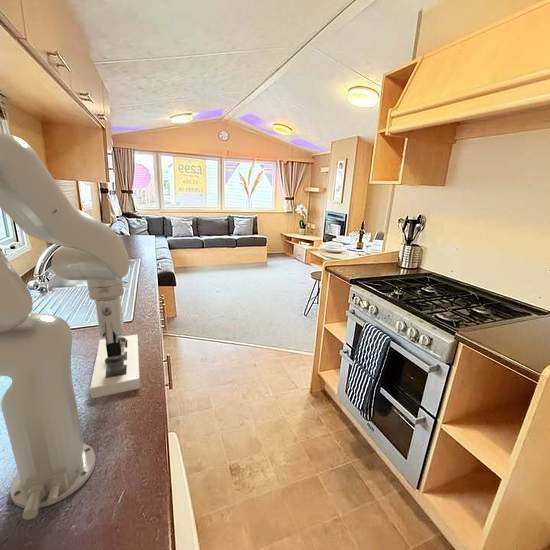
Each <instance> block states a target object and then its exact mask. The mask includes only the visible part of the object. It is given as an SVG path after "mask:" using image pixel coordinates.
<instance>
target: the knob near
mask: <svg viewBox="0 0 550 550" xmlns="http://www.w3.org/2000/svg"><path fill="white" fill-rule="evenodd" d="M124 360H125V358H124V355H119V356H114V357H107V358H106V359H105V364H106V365H107V371H108V375H109V376H114V377H116V376H118V375H119V376H121V374H122V373H124V371H125V369H124Z"/></svg>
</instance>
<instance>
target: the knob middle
mask: <svg viewBox="0 0 550 550" xmlns="http://www.w3.org/2000/svg"><path fill="white" fill-rule="evenodd" d="M120 344H121V355H124V358H125V350H124V347H125V343H124V342H120Z"/></svg>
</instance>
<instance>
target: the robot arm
mask: <svg viewBox="0 0 550 550" xmlns="http://www.w3.org/2000/svg"><path fill="white" fill-rule="evenodd" d="M0 209H1V210H2V211H3V212H4V213H5V214H6V215H7V216H8V217H9V218H10V219H11V220H12V221H13V222H14V223H15V224H16V225H17V226H18V227H19V228H20V229H21V231H22V232H23V233H25V234H27V236H30V237H31V238H34V239H37V240H39V241H43V242H46V243H49V244H52V245H56V246H60V247H61V248H58V249H57V250H56V251H55V252H54V254H53V255H52V258H51V262H50V265H51V269H52V271H53V273H54V274H55V276H57V277H58V278H60V279H62V280H67V281H86V282H87V284H86V285H87V290H88V297H89V299H90V300H92V301H95V310H96V317H97V318H96V319H97V323H98V324H97V326H98V329H99V335H100V338H102V339H106V349H107V356H108V357H114V356H119V355H121V344H120V339H119V337H122V335H124V325H125V324H124V323H125V322H124V316H123V308H122V303H121V301H122V300H121V297H122V296H123V295H124V294H125V293H124V285H123V278H125V277H126V276H127V274H128V273H129V270H130V258H129V254H128V252H127V249H126V247H125V246H124V243H123V242H122V240H121V238H120V237H119V236H118V234H117V233H116V232H115V230H113V229H112V228H111V227H109V226H108V225H107V224H105V223H104V222H102V221H100V220H98V219H96V218H94V217H93V216H91V215H89V214H88V213H86V212H84V211H83V210H80V209H79V208H77V207H74V206H73V205H72V203H71V202H70V200H69V199H68V198H67V196H66V194H65V193H64V192H63V190H62V189H61V187H60V186H59V184H58V183H57V182H56V180H55V179H54V177H53V175H52V174H51V173H50V171H49V170H48V169H47V167H46V165H45V164H44V163H43V161H42V159H41V158H40V156H39V155H38V153H37V152H36V151H35V150H34V148H32V147H31V145H30V144H28V143H27V142H26V141H25V140H23V139H21V138H20V137H18V136H15V135H12V134H9V133H6V132H0ZM32 296H33V295H32V294H31V291H30V290H29V288H28V287H27V285H26V283H25V282H24V280H23V279H22V277H21V276H20V274H19V273H18V272H17V271H16V269H15V268H14V267H13V265H12V263H11V262H10V260H8V258H7V257H6V255H5V254H4V252H3V251H2V250H1V249H0V377H8V378H10V379H11V380H12V381H11V384H10V386H9V387H8V388H7V389H6V391H5V393H4V394H3V396H2V399H1V411H2V416H3V418H4V419H3V420H4V422H5V426H6V430H7V435H8V438H9V443H10V446H11V450H12V453H13V457H14V458H13V459H14V461H15V466H16V469H17V472H16V475H15V476H14V478H13V479H12V482H11V484H10V488H9V493H10V498H11V500H12V502H13V504H15V505H16V506H17V507H19V508H21V509H23V512H22V515H21V516H22V518H23V519H24V520H32V519H34V518H36V517H37V516H38V514H39V511H40V508H45V507H48V506H51V505H53V504H56V503H58V502H60V501H62V500H65V499H66V498H67V497H69V496H71V495H72V494H73V493H74V492H76V491H78V489H80V488H81V487H82V486H83V485H84V484H85V483H86V482H87V480H88V479H89V478H90V476H91V475H92V473H93V472H94V469H95V466H96V460H97V459H96V454H95V450H94V449H93V447H92V446H90V445H88V444H87V443H85V442H84V440H83V434H82V428H81V424H80V416H79V411H78V405H77V400H76V395H75V393H76V392H75V389H74V383H73V377H72V376H73V375H72V374H73V373H72V349H73V347H72V346H73V345H72V344H73V333H72V329H71V326H70V325H69V323H68V322H67V321H66V320H65V319H63V318H61V317H59V316H56V315H53V314H48V313H43V312H42V313H41V312H40V313H39V312H33V306H34V305H33V303H34V302H33V297H32Z"/></svg>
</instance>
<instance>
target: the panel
mask: <svg viewBox="0 0 550 550" xmlns="http://www.w3.org/2000/svg"><path fill="white" fill-rule="evenodd" d="M122 337H124V338H126V348H124V350H125V360H124V369H125V371H124V373H122V374H121V375H118V376H109V375H108V371H107V365H106V364H105V359H106V358H107V357H108V356H107V349H106V339H105V338H102V339H99V342H98V343H99V344H98V348H97V352H96V357H95V358H96V359H95V362H94V368H93V372H92V377H91V382H90V388H89V390H90V396H91V399H95V398H101V397H106V396H111V395H115V394H120V393H124V392H129V391H134V390H138V389H141V379H140V378H141V377H140V351H139V336H138V334H131V335H124V336H122Z"/></svg>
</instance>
